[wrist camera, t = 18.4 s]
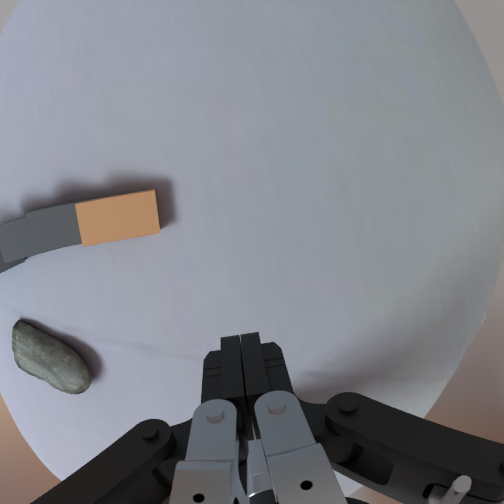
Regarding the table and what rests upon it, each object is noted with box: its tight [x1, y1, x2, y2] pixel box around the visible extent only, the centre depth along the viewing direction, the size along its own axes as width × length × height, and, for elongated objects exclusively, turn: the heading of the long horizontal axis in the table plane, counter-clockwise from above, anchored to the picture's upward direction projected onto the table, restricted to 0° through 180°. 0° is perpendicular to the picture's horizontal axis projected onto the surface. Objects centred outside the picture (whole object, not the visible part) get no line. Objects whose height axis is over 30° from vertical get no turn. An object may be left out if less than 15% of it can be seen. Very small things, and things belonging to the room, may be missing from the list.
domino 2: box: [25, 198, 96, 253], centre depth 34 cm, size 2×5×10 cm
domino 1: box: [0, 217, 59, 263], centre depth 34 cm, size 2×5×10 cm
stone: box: [12, 320, 91, 394], centre depth 41 cm, size 11×4×15 cm
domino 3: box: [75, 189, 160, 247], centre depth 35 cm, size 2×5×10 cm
